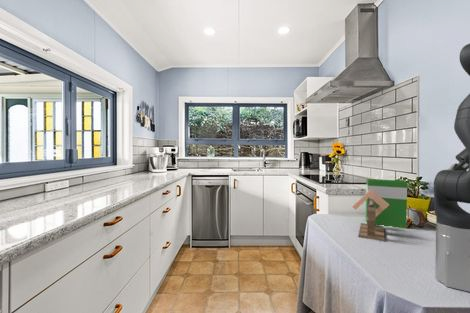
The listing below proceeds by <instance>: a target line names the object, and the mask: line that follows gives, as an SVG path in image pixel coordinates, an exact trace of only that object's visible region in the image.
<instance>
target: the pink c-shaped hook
mask: <svg viewBox="0 0 470 313" xmlns="http://www.w3.org/2000/svg"><path fill="white" fill-rule="evenodd" d="M369 197H370V198H371V199H372V200H373V201H375V202H376V203H377V204H378V205H379V207H378V208H377V209H376V216H377V215H379V214H380V213H381V212H382V211H383V210H384V209H386V208H387V207H388V206H389V204H388V203H387V202H386V201H385V200H383V199H382V198H381V197H380V196H378V195H377V194H376V193H375V192H374V191H372V190H371V189H370V190H369V191H368V192H367V193H366V192H365V194H364V195H363V196H362V197H360V199H358V200H357V201H356V202H355V203H354V204H353V205H352V206H351V207H352V208H353V210H357V209H358V208H359V207H360V206H361V205H362V204H364V203H366V200H367V199H368V198H369ZM376 216H375V217H376ZM366 219H367V220H368V217H367V218H366V217H365V220H366Z"/></svg>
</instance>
